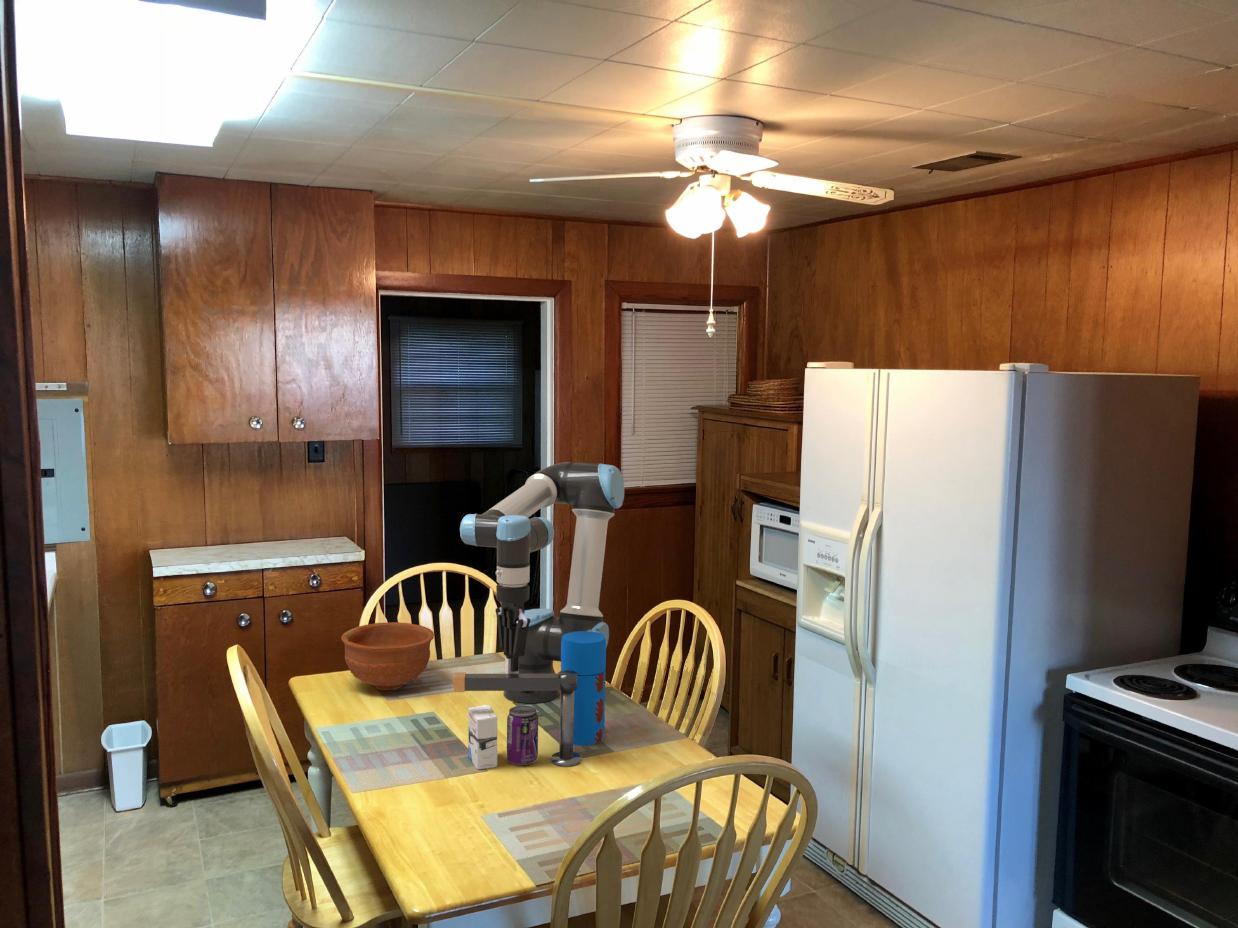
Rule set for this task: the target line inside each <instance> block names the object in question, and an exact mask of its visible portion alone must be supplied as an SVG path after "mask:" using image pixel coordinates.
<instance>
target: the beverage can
mask: <svg viewBox="0 0 1238 928" xmlns="http://www.w3.org/2000/svg"><path fill="white" fill-rule="evenodd" d="M508 712H509V713H508V715H507V717H506V760H507V761H508V762H509V763H511V764H514V765H515V766H527V765H530V764H532V763H535V762H536V761H537V760H538V759H539V716H538V713H537V708H536V707H534V706H532V705H531V706H530V705H515V706H513V707H511V708H509V710H508Z"/></svg>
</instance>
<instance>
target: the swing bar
mask: <svg viewBox="0 0 1238 928" xmlns="http://www.w3.org/2000/svg"><path fill="white" fill-rule="evenodd" d="M576 689H577V672H575V671H570V670H565V671H561V670H560V671H558V672H557V673H555V674H505V673H467V672H455V673H454V676H453V693H465V692H468V691H469V692H483V691H484V692H504V691H559V692H560V691H564V692H571V691H575V690H576Z"/></svg>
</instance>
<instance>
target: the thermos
mask: <svg viewBox="0 0 1238 928" xmlns="http://www.w3.org/2000/svg"><path fill="white" fill-rule="evenodd" d="M606 660H607V647H606V639H605V636H604V635H602V634H600V633H597V632H590V631H575V632H569V633H566V634H564V635H563V636H562V641H561V662H560V671H565V670H570V671H575V672H577V689H576V690H575V691H574V739H573V746H583V747H584V746H592V745H595V744H599V743H601V742H602V741H603V739H604V735H605V723H606V722H605V716H606V715H605V713H606V672H607V670H606V667H607V666H606V665H607V661H606Z"/></svg>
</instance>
